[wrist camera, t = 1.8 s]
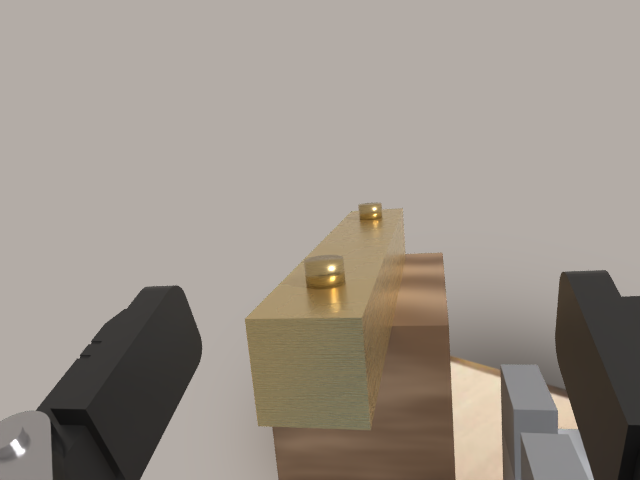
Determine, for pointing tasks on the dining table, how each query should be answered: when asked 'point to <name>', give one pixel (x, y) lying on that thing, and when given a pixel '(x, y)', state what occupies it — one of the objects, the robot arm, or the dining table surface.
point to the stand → (393, 399)
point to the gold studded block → (330, 327)
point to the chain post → (536, 431)
